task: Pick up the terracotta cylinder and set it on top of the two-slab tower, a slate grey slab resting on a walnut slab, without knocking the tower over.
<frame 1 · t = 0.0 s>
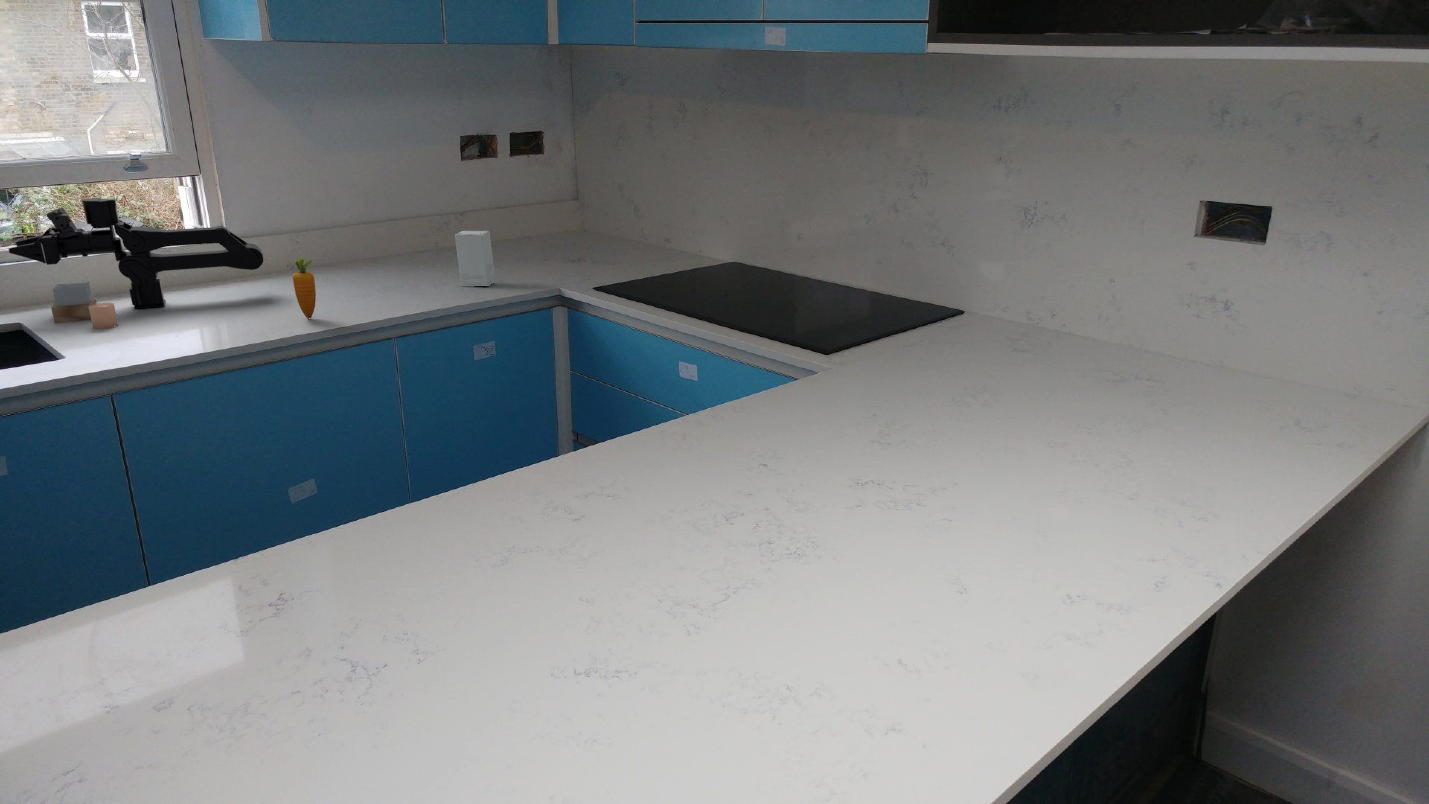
hand: (12, 247, 221), 17 cm above the counter, tool horizontal, fingers open, 9 cm apart
walnut slab: (77, 318, 226), on the counter, touching slate slab
skincare box: (477, 285, 263), on the counter
terracotta cylinder: (105, 326, 218), on the counter
slate slab: (74, 302, 225), point 4 cm above the counter, touching walnut slab
carrot: (309, 319, 226), on the counter
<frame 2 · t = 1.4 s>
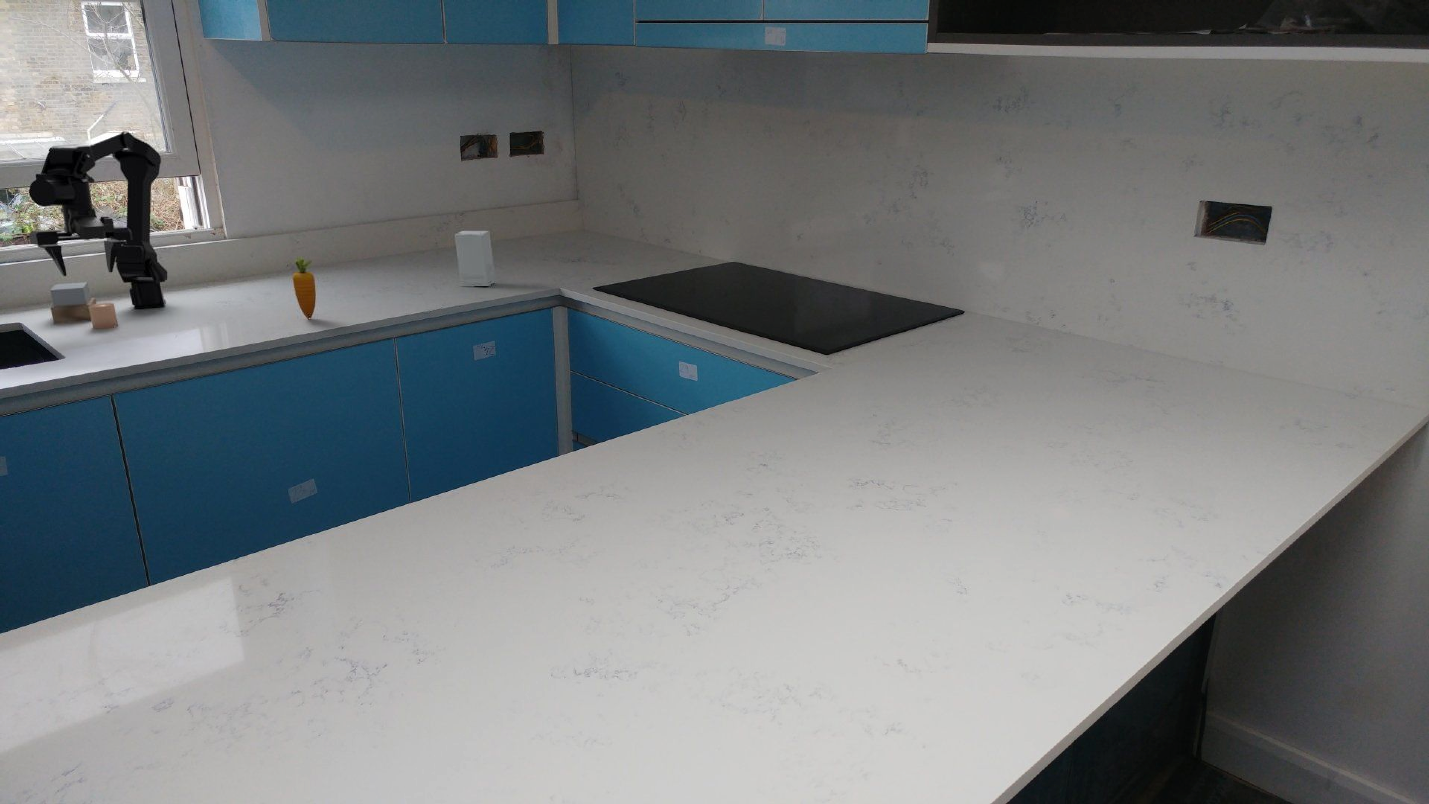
hand: (88, 274, 214), 12 cm above the counter, tool pointing down, fingers open, 9 cm apart
nothing on the counter moved.
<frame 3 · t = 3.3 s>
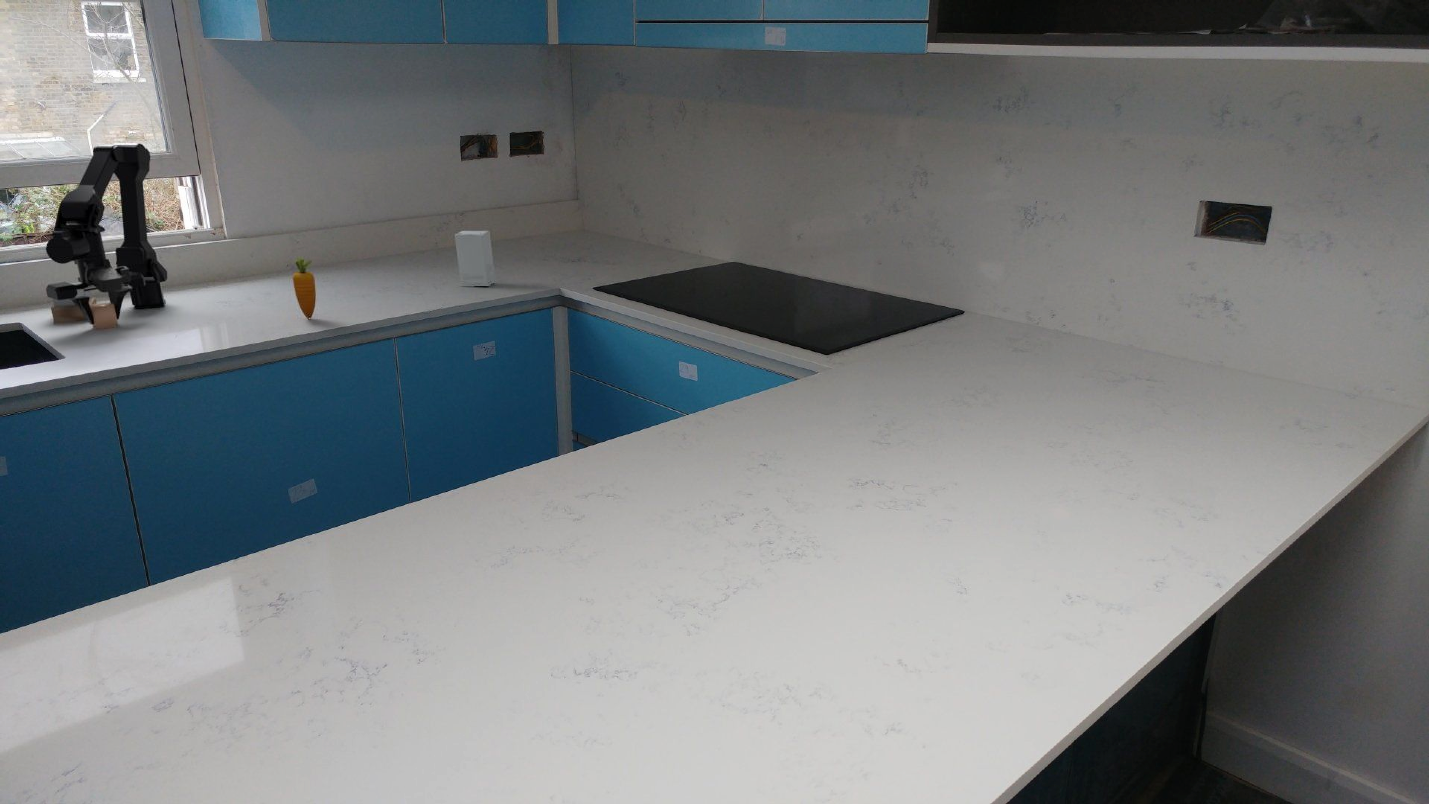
hand: (104, 321, 218), 1 cm above the counter, tool pointing down, fingers closed on terracotta cylinder, 5 cm apart
walnut slab: (77, 318, 226), on the counter
terracotta cylinder: (105, 326, 218), on the counter, touching gripper
slate slab: (73, 302, 224), point 4 cm above the counter
everything else where it was.
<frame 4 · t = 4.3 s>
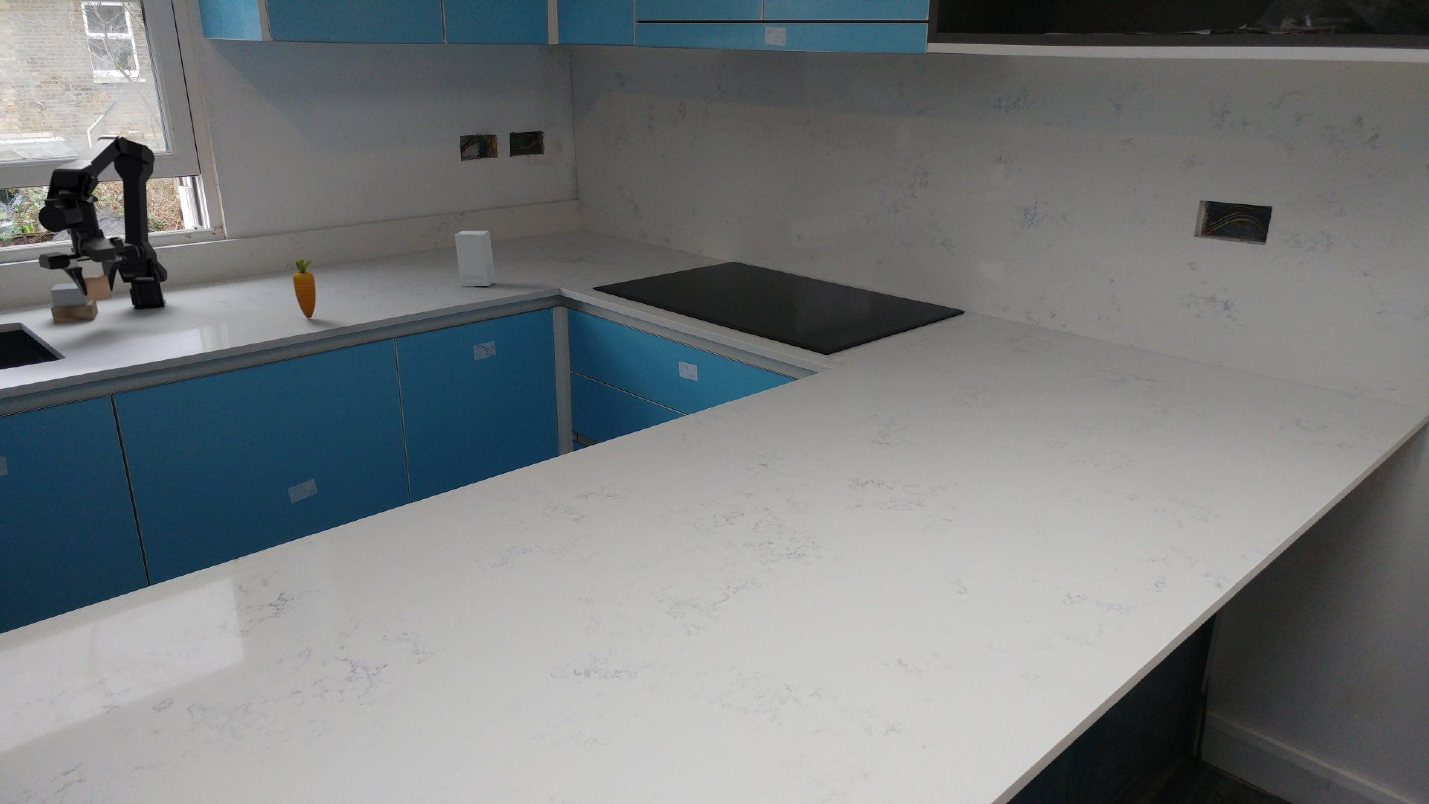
hand: (98, 293, 216), 8 cm above the counter, tool pointing down, fingers closed on terracotta cylinder, 5 cm apart
walnut slab: (77, 318, 226), on the counter, touching slate slab
terracotta cylinder: (99, 297, 216), point 7 cm above the counter, touching gripper
slate slab: (73, 302, 224), point 4 cm above the counter, touching walnut slab
everything else where it was.
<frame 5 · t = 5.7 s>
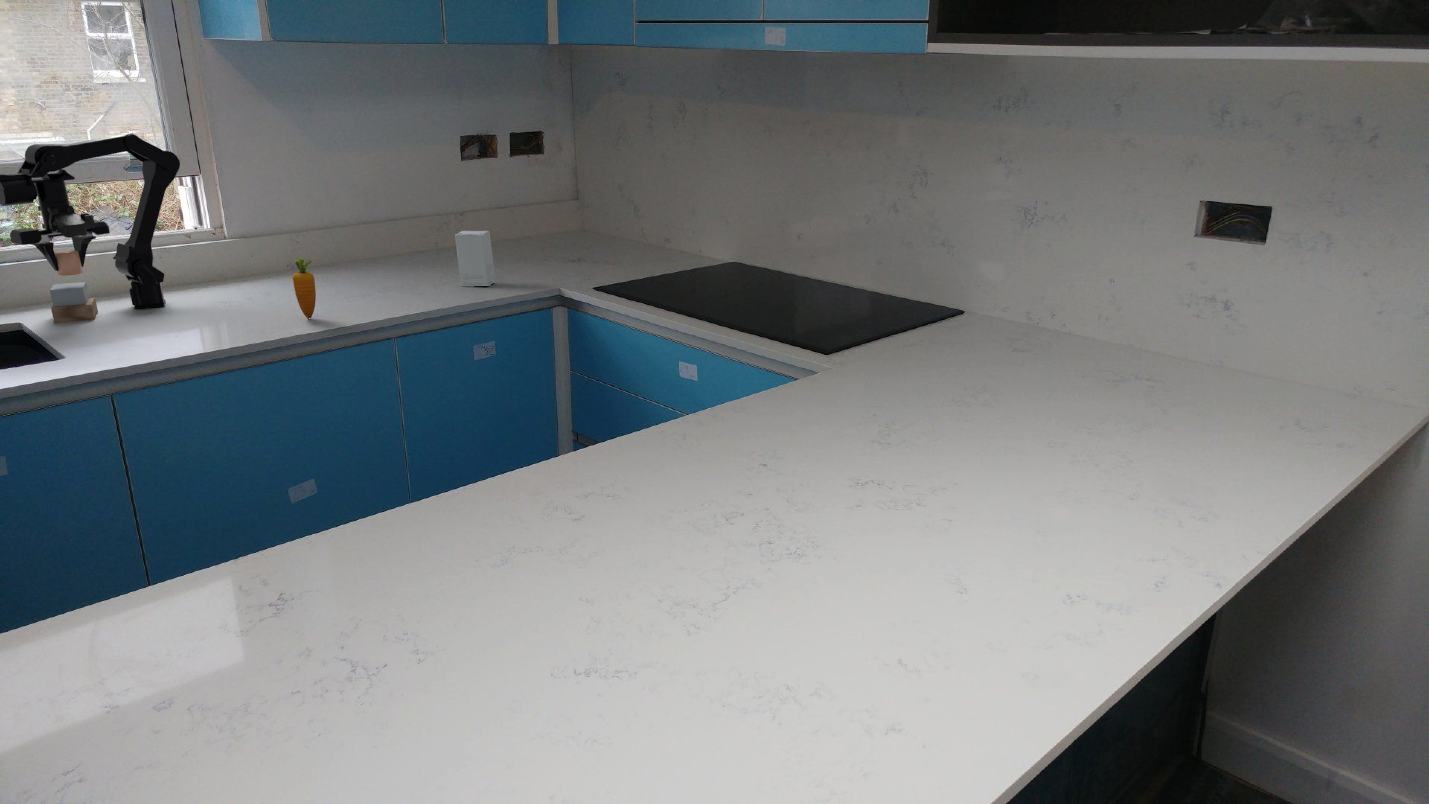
hand: (69, 268, 221), 12 cm above the counter, tool pointing down, fingers closed on terracotta cylinder, 5 cm apart
walnut slab: (77, 318, 226), on the counter
terracotta cylinder: (70, 273, 221), point 11 cm above the counter, touching gripper
slate slab: (71, 302, 224), point 4 cm above the counter
everything else where it was.
when the fingers open (10 cm above the counter, at t = 6.7 s): terracotta cylinder drops 1 cm, resting on slate slab.
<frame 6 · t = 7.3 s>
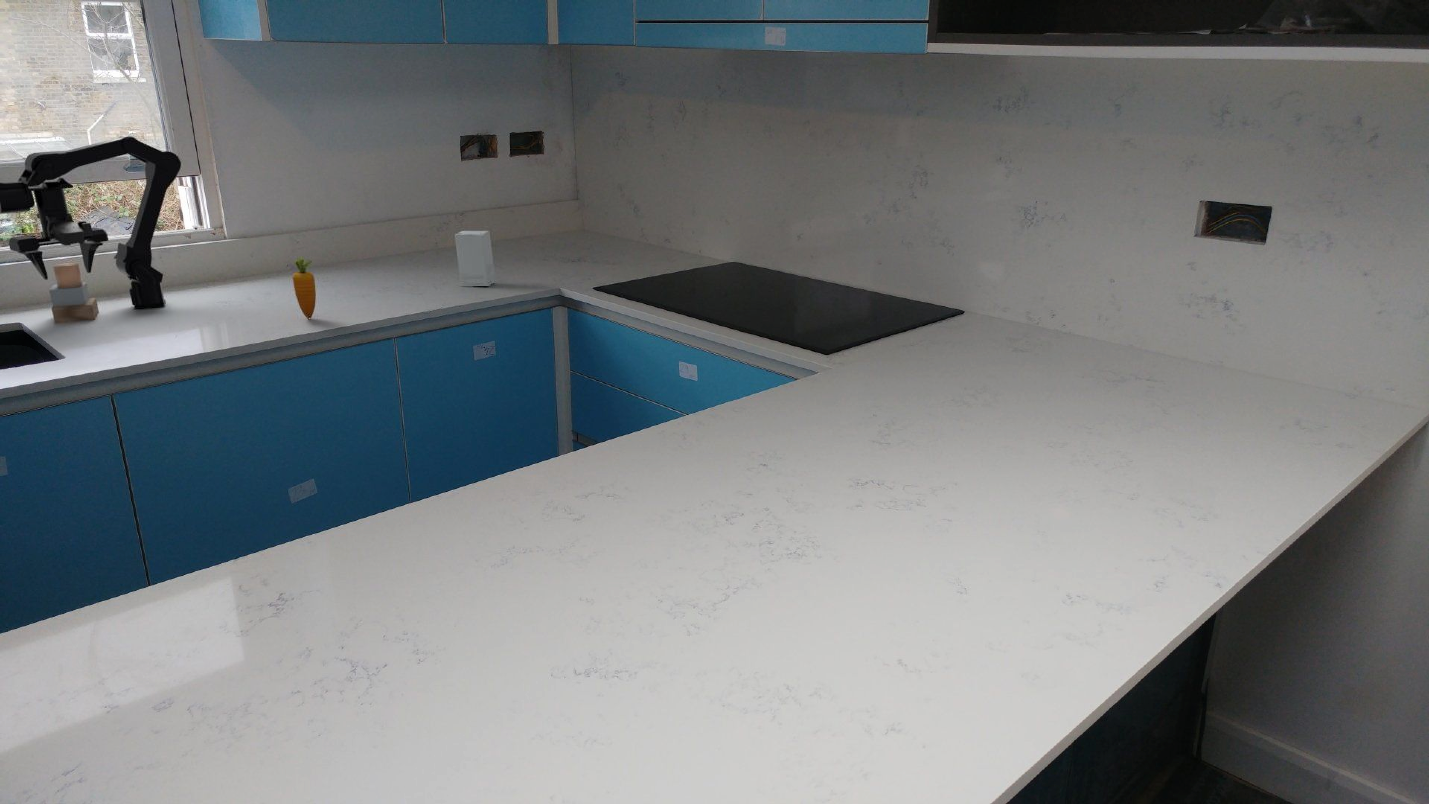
hand: (67, 276, 222), 10 cm above the counter, tool pointing down, fingers open, 9 cm apart
walnut slab: (77, 319, 226), on the counter, touching slate slab
terracotta cylinder: (70, 285, 223), point 8 cm above the counter, touching slate slab
slate slab: (71, 302, 224), point 4 cm above the counter, touching terracotta cylinder, walnut slab
everything else where it was.
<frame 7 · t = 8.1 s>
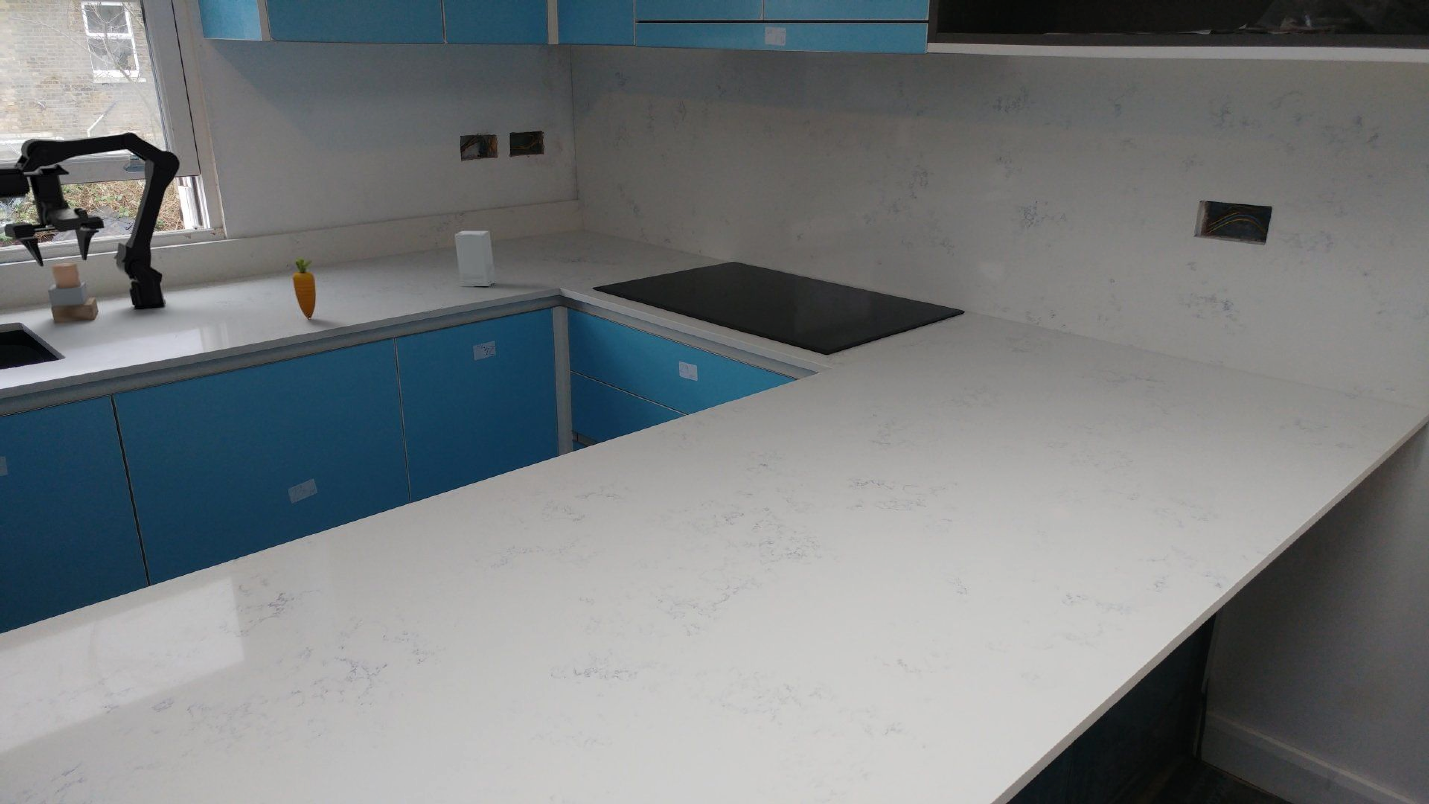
hand: (63, 263, 222), 13 cm above the counter, tool pointing down, fingers open, 9 cm apart
nothing on the counter moved.
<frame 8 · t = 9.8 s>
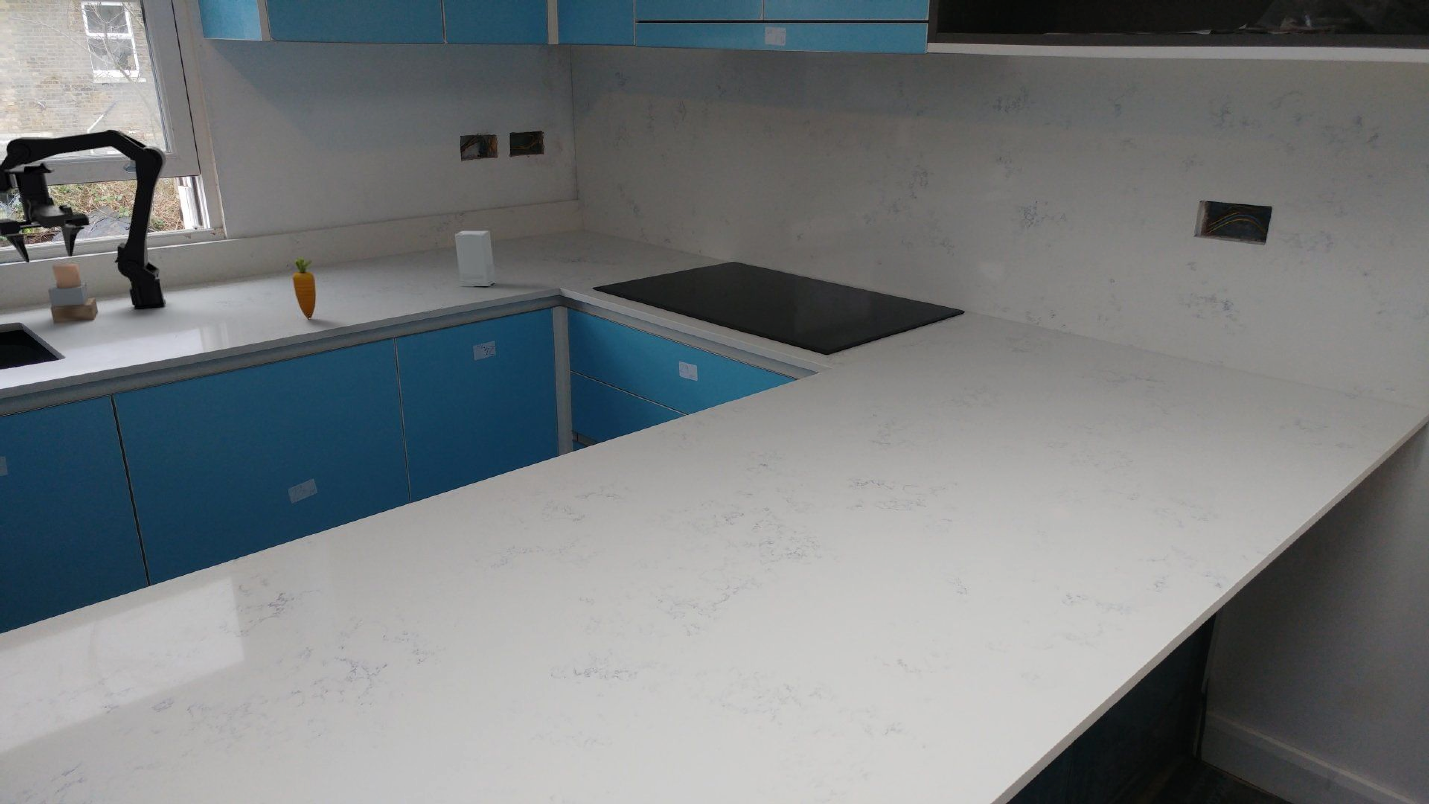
hand: (49, 259, 226), 13 cm above the counter, tool pointing down, fingers open, 9 cm apart
nothing on the counter moved.
at the end: terracotta cylinder 0.4 cm off-centre on the slate slab, point 4.0 cm above the slate slab's base; slate slab moved 0.8 cm from its start; walnut slab moved 0.4 cm from its start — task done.
